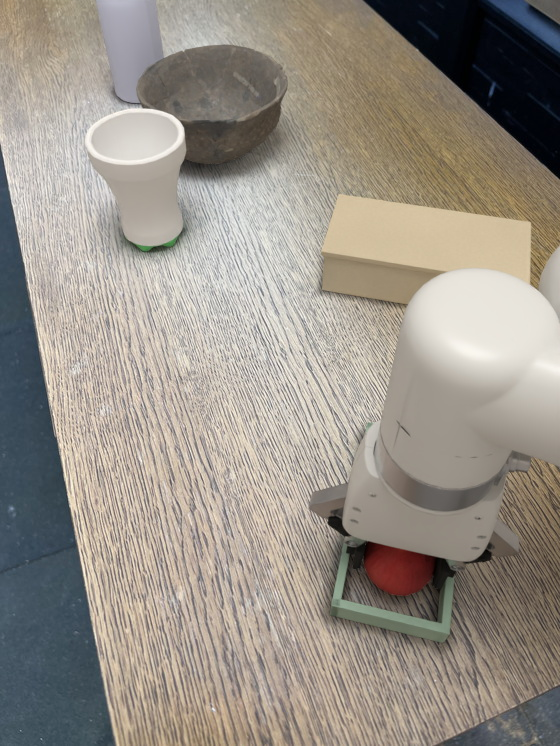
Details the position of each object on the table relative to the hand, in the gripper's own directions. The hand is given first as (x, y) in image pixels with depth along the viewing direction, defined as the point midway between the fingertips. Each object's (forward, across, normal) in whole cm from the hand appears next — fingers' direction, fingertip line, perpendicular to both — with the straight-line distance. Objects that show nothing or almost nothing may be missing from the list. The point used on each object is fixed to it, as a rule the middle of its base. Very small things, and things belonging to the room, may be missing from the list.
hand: (398, 561), depth 54 cm
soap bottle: (+3, +51, -70) cm, 87 cm away
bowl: (+3, +34, -58) cm, 68 cm away
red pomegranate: (+3, 0, 0) cm, 3 cm away
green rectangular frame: (+3, 0, -4) cm, 5 cm away
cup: (+3, +36, -37) cm, 52 cm away
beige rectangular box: (+3, +2, -37) cm, 38 cm away
